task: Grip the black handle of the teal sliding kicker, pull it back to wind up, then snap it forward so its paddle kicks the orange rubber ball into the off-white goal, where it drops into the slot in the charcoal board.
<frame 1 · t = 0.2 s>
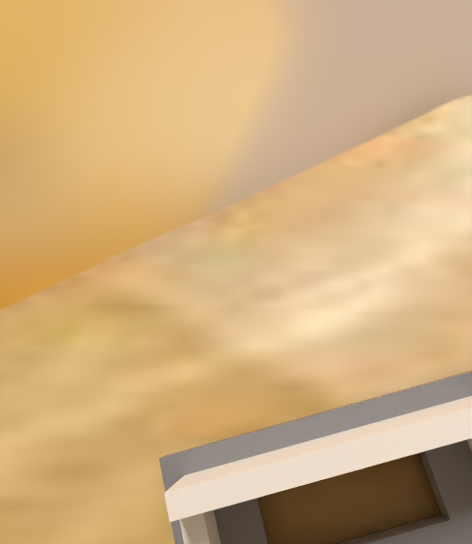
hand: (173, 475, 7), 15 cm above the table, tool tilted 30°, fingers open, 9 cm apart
goal: (349, 511, 20), resting on board
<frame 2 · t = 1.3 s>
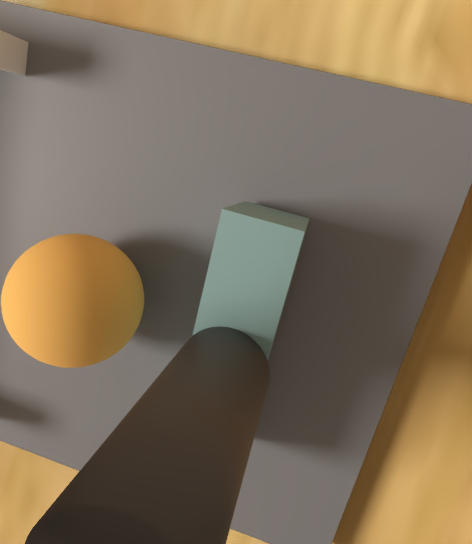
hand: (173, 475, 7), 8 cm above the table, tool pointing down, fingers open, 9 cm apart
kicker: (207, 400, 9), point 6 cm above the table, slide at 0.0 cm
board: (109, 273, 16), on the table
ball: (76, 300, 13), point 3 cm above the table, touching board
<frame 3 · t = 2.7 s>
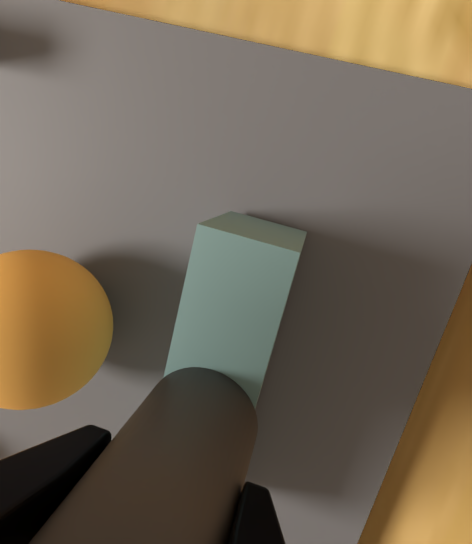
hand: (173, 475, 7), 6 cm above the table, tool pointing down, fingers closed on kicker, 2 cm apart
kicker: (177, 467, 7), point 6 cm above the table, slide at 0.0 cm, touching gripper
board: (79, 291, 14), on the table
ball: (31, 327, 11), point 3 cm above the table, touching board
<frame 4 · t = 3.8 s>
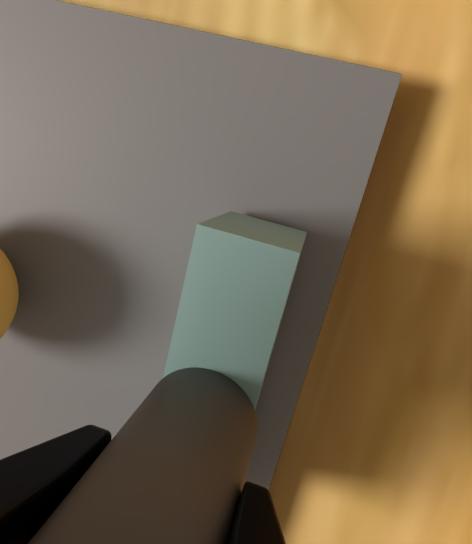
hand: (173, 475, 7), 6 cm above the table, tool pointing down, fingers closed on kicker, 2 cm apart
kicker: (177, 467, 7), point 6 cm above the table, slide at -2.9 cm, touching gripper
board: (0, 266, 14), on the table
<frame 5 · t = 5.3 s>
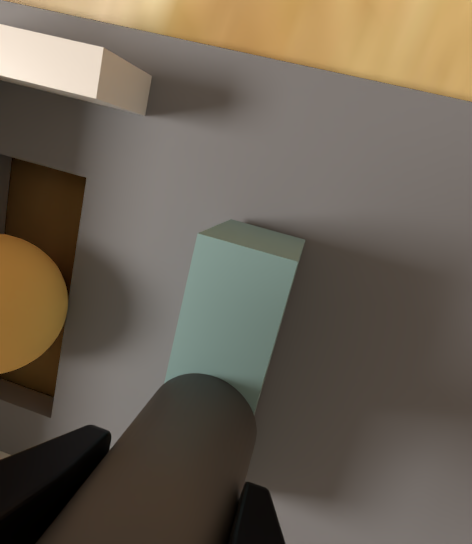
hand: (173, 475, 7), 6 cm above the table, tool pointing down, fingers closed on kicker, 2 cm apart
kicker: (177, 471, 8), point 6 cm above the table, slide at 5.0 cm, touching gripper
board: (226, 343, 13), on the table
goal: (55, 289, 14), resting on board
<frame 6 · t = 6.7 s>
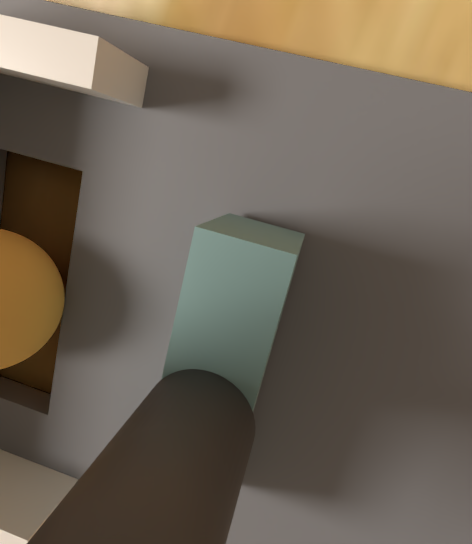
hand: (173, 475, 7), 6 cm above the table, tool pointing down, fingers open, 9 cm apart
kicker: (174, 469, 7), point 6 cm above the table, slide at 5.0 cm
board: (224, 339, 13), on the table
goal: (51, 284, 14), resting on board
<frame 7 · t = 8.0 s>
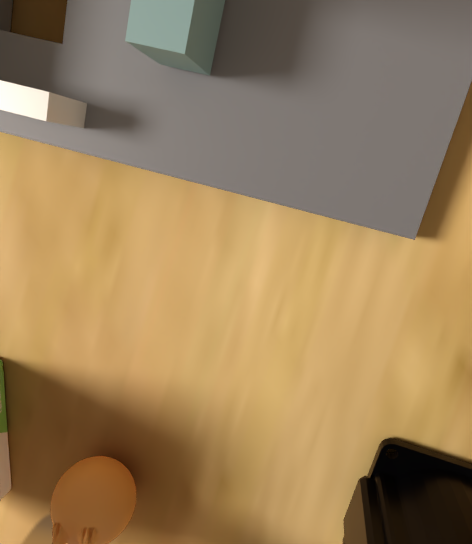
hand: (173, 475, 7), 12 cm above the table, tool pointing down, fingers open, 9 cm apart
figurine: (117, 486, 23), on the table
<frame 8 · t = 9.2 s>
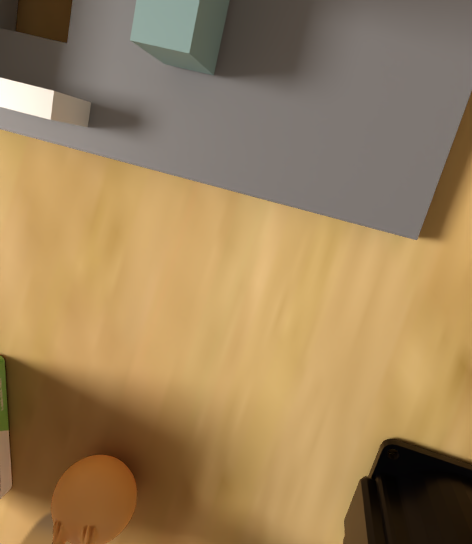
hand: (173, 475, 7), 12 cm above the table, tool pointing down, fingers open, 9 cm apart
figurine: (118, 485, 23), on the table
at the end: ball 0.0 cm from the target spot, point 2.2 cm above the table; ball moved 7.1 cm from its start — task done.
